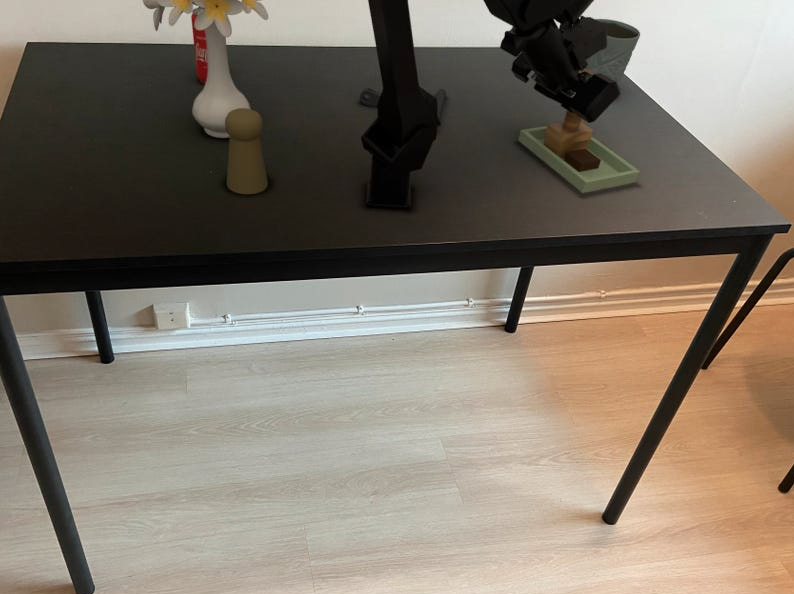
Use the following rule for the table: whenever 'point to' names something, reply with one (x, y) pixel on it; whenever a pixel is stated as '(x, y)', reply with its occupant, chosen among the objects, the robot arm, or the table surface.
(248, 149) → the brown pawn
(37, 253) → the table surface
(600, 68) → the grey-green cup
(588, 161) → the dark brown block
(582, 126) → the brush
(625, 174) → the tray
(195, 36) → the beverage can
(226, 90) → the flower vase
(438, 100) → the bracket
